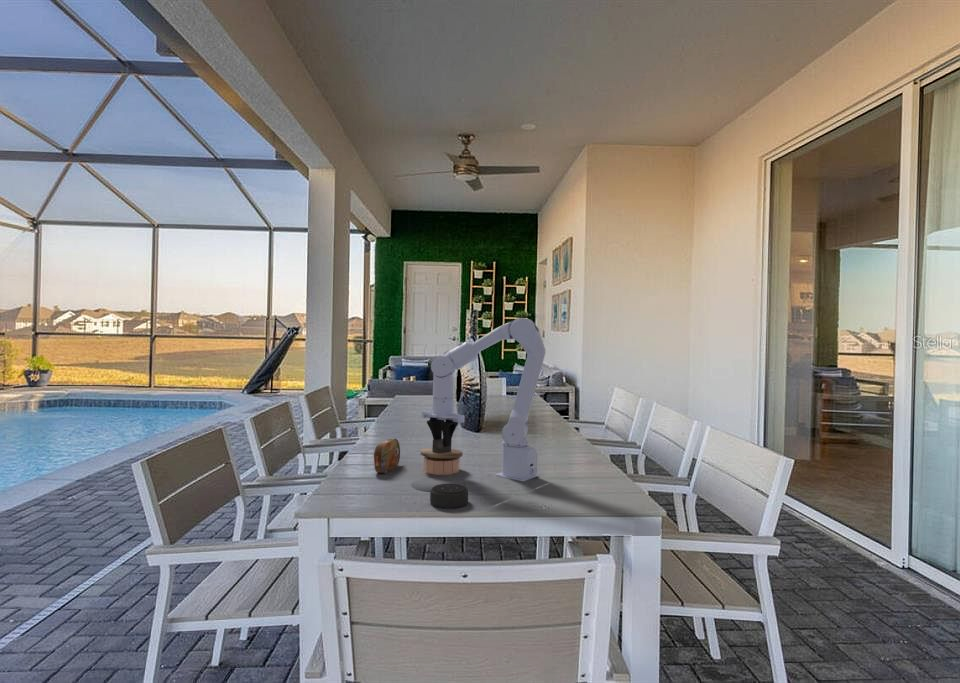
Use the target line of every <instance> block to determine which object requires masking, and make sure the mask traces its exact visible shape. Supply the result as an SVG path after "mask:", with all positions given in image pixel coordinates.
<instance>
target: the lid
mask: <svg viewBox="0 0 960 683" xmlns="http://www.w3.org/2000/svg"><path fill="white" fill-rule="evenodd" d="M452 441H453V440H452V439H451V443H450V446H447V447H444V446H443V438H442V439H436V440H433V439H432V447H429V448H423V449H421V450H420V455H421V456H423V457H425V456H426V457H431V458H445V459H447V458H458V457H460V458H462V456H463V455H464V454H463V453H464V452H463V451H461V450H459V449H454V448H452Z"/></svg>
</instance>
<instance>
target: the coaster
mask: <svg viewBox="0 0 960 683" xmlns="http://www.w3.org/2000/svg"><path fill="white" fill-rule="evenodd" d="M440 484H459V485H462V486H465V487H466V483H465V482H464V481H462V480H460V479H457V478H453V477H442V476H441V477H426V478H420V479H417V480H414V481H413V482H412V483H411V484H410V486H411V488H413V489H415V490H416V491H420V492H426V493H430V490H431V489H432V488H433V487H434V486H436V485H440Z"/></svg>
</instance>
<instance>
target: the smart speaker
mask: <svg viewBox="0 0 960 683" xmlns="http://www.w3.org/2000/svg"><path fill="white" fill-rule="evenodd" d="M429 493H430V494H429V502H430V504H431V506H433V507H435V508H439V509H451V510H452V509H460V508H463V507H465V506H467V504H468V503H469V489H468V488H467V487H466V485H465V486H462V485H459V484H440V485H436V486H434V487H433V488H432V489H431V490H430V492H429Z"/></svg>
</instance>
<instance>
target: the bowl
mask: <svg viewBox="0 0 960 683" xmlns="http://www.w3.org/2000/svg"><path fill="white" fill-rule="evenodd" d="M423 471H424V472H425V473H426V474H431V475H434V476H435V475H439V476H446V475H447V476H448V475H455V474H458V473H459V472H460V471H461V457H458V458H447V459H445V458H431V457H426V456H423Z"/></svg>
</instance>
